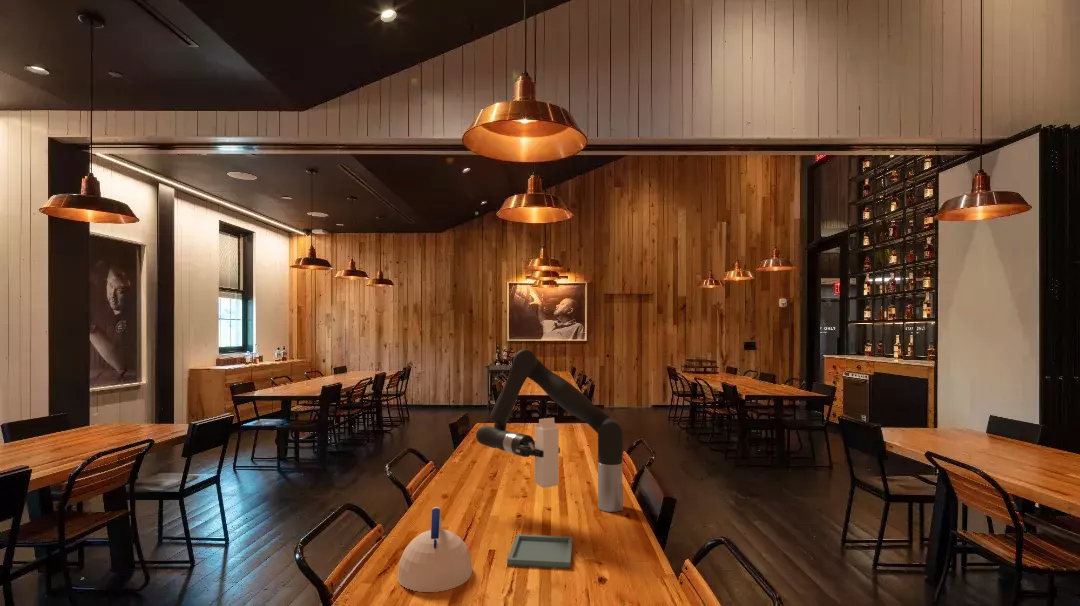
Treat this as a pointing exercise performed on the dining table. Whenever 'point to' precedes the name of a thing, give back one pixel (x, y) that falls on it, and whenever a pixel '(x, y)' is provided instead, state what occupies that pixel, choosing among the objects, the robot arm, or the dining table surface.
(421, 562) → the dome with blue handle
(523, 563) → the tray
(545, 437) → the milk
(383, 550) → the dining table surface
